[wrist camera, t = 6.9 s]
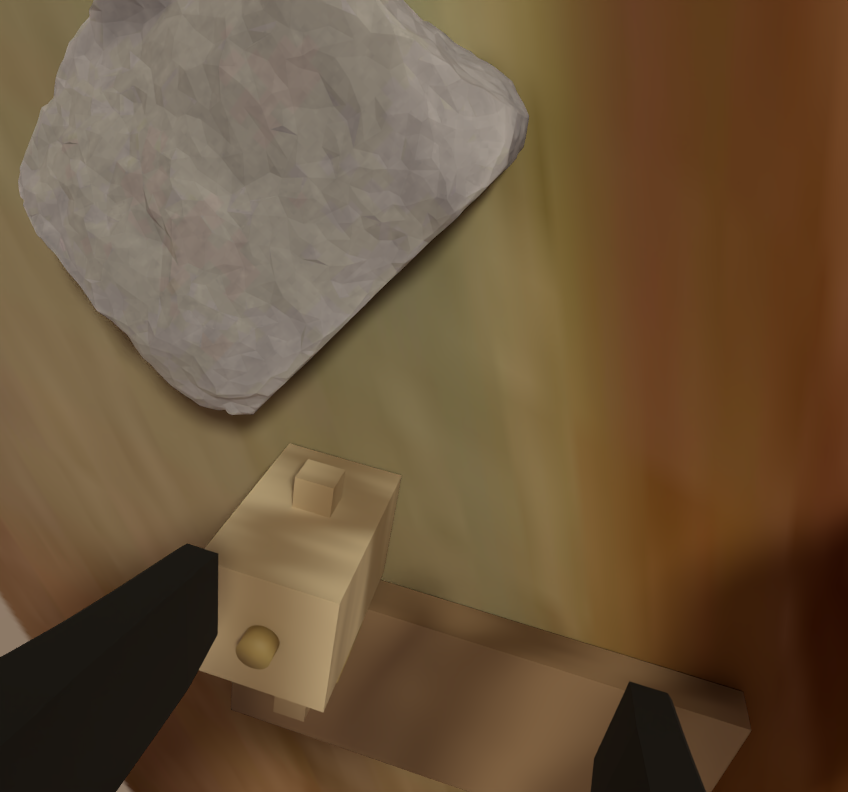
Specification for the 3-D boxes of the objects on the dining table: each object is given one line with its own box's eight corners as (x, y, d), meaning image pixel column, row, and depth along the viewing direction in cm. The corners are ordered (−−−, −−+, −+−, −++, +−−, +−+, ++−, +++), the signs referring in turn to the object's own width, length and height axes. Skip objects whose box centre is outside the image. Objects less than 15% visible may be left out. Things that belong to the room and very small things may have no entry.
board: (743, 692, 23) (751, 730, 22) (664, 821, 27) (666, 860, 26) (256, 541, 25) (237, 567, 24) (247, 680, 29) (230, 709, 28)
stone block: (98, 182, 23) (290, 412, 22) (-41, 180, 18) (196, 465, 18) (316, -154, 17) (569, 142, 17) (192, -269, 13) (530, 126, 13)
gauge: (406, 448, 22) (335, 589, 16) (365, 668, 27) (300, 833, 21) (291, 416, 22) (183, 541, 17) (272, 638, 28) (185, 791, 22)
